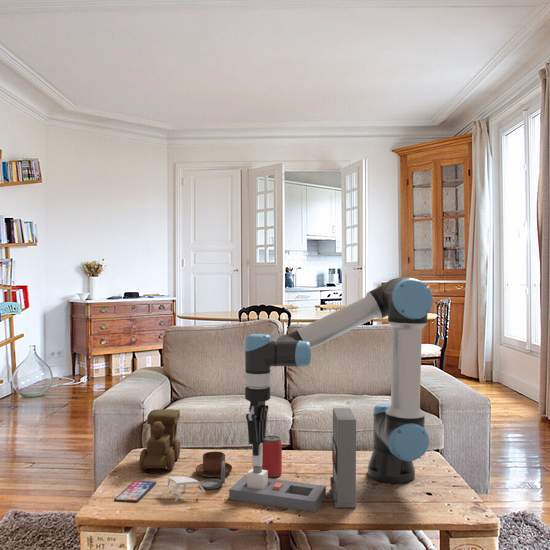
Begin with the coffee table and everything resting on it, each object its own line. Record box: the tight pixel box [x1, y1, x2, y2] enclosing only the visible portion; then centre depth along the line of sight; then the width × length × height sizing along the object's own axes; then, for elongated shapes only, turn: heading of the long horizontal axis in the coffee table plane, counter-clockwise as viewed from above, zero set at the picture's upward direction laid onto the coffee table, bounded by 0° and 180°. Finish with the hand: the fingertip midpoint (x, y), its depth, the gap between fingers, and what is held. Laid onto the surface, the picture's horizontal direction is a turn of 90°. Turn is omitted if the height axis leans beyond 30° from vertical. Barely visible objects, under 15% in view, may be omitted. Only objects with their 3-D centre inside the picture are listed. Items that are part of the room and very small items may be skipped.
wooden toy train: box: [138, 408, 181, 472], centre depth 194 cm, size 20×11×17 cm, turn 0°
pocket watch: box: [200, 452, 226, 490], centre depth 175 cm, size 8×8×10 cm
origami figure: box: [167, 476, 205, 502], centre depth 166 cm, size 12×8×5 cm
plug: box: [246, 466, 269, 490], centre depth 168 cm, size 5×4×8 cm
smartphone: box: [113, 480, 157, 504], centre depth 170 cm, size 8×1×15 cm
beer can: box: [262, 435, 283, 478], centre depth 184 cm, size 7×7×12 cm
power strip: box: [228, 474, 327, 513], centre depth 166 cm, size 26×12×4 cm, turn 71°
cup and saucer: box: [195, 451, 233, 478], centre depth 185 cm, size 12×12×6 cm
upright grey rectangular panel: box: [329, 407, 357, 509], centre depth 165 cm, size 14×6×25 cm, turn 0°
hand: (257, 465), depth 168 cm, fingers closed
